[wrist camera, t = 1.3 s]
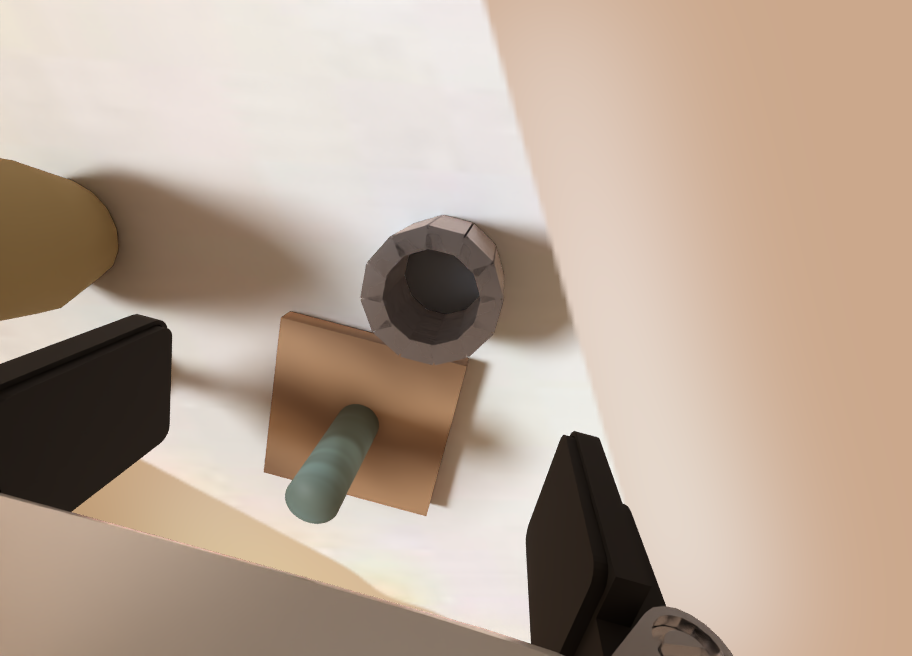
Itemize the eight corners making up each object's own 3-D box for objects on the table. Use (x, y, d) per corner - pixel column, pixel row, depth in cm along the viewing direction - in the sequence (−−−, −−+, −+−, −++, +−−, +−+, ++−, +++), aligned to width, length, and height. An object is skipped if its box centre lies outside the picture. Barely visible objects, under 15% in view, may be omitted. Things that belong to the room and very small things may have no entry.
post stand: (290, 311, 27) (204, 366, 19) (468, 358, 27) (453, 433, 19) (272, 461, 31) (194, 557, 23) (429, 503, 31) (403, 614, 23)
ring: (400, 203, 24) (375, 211, 20) (516, 233, 24) (518, 248, 20) (379, 313, 27) (352, 344, 22) (485, 341, 26) (481, 378, 22)
